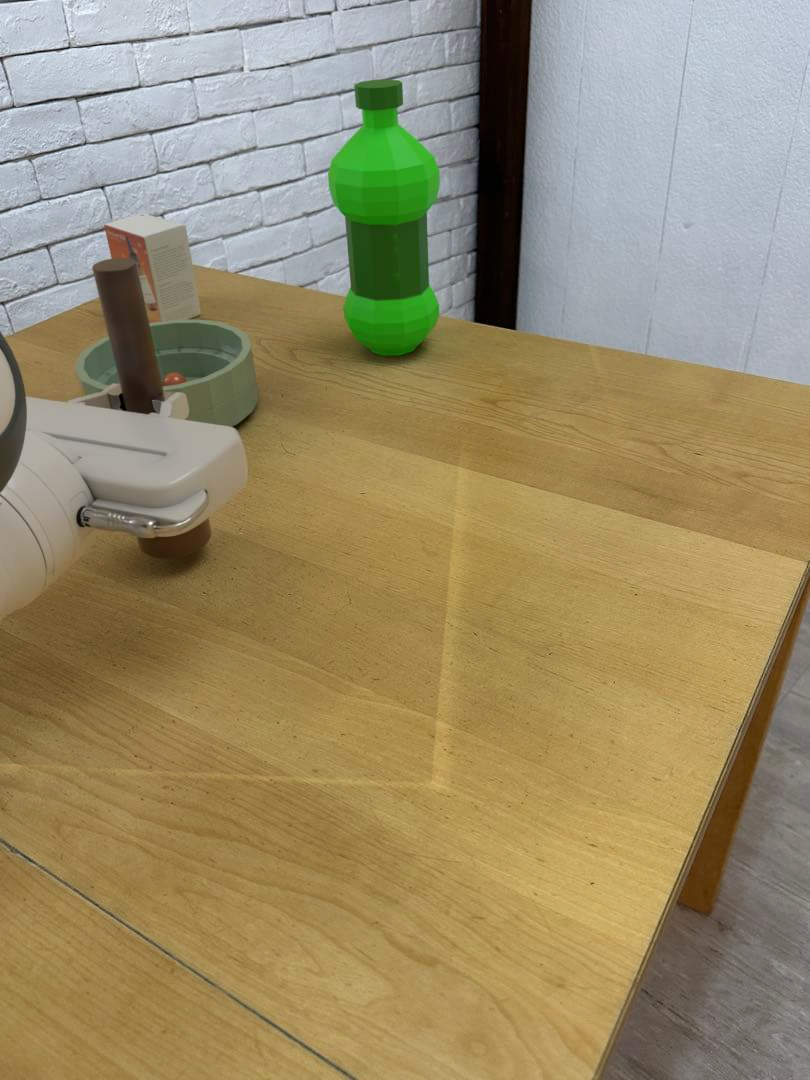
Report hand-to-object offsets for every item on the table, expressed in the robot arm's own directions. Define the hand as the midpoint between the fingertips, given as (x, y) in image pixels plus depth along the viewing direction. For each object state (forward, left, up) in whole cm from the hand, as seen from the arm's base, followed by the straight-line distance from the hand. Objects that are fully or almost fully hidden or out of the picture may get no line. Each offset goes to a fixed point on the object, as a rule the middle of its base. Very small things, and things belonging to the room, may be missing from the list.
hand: (152, 397), depth 60 cm
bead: (-8, +23, -10) cm, 26 cm away
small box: (-16, +45, -12) cm, 50 cm away
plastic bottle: (+12, +36, -12) cm, 40 cm away
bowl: (-7, +21, -12) cm, 26 cm away
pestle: (0, -1, -11) cm, 11 cm away
